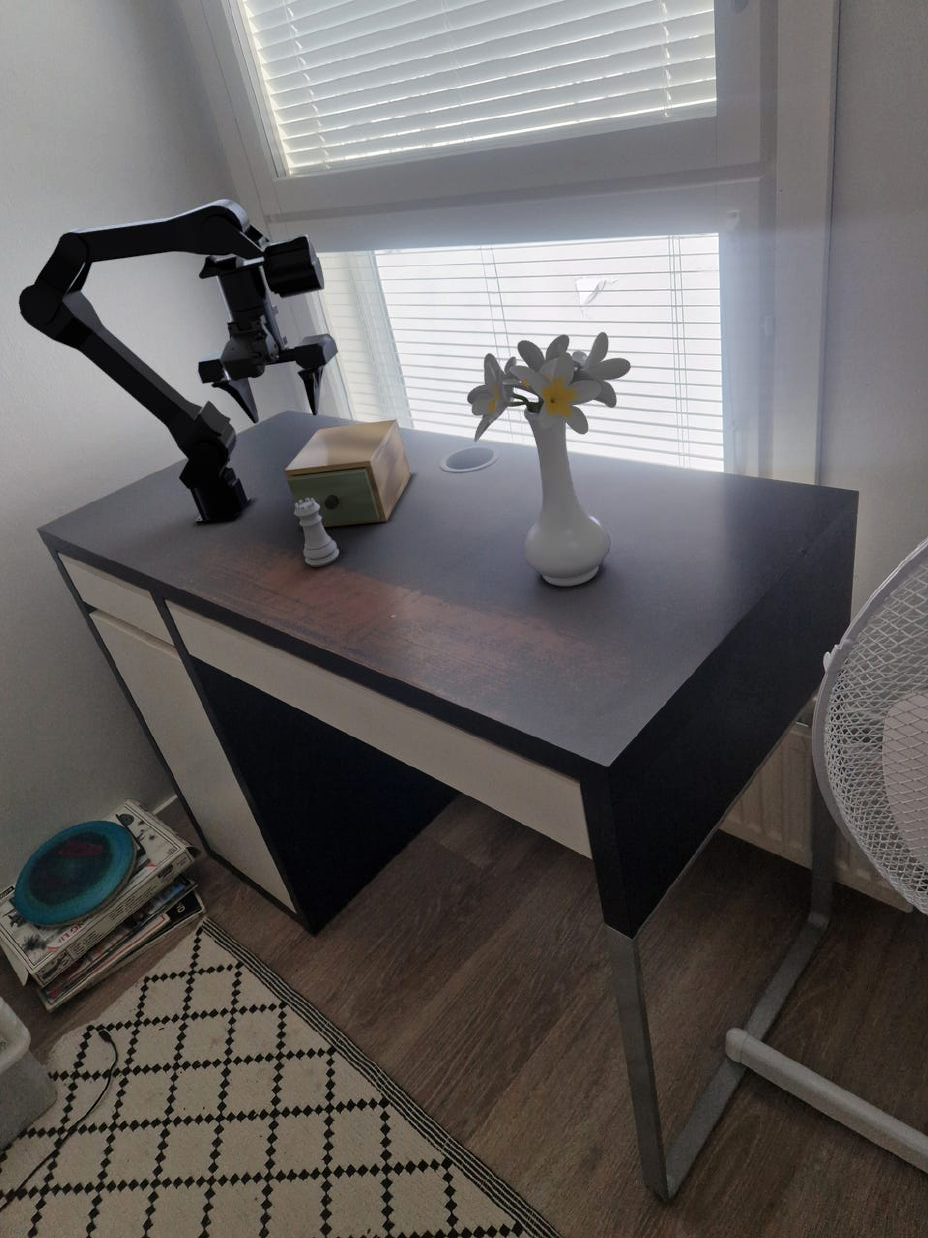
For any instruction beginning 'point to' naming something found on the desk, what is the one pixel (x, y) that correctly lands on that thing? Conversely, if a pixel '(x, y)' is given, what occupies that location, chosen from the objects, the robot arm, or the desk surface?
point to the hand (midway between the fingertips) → (285, 418)
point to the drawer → (338, 494)
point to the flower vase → (555, 445)
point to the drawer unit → (360, 459)
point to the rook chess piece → (315, 535)
